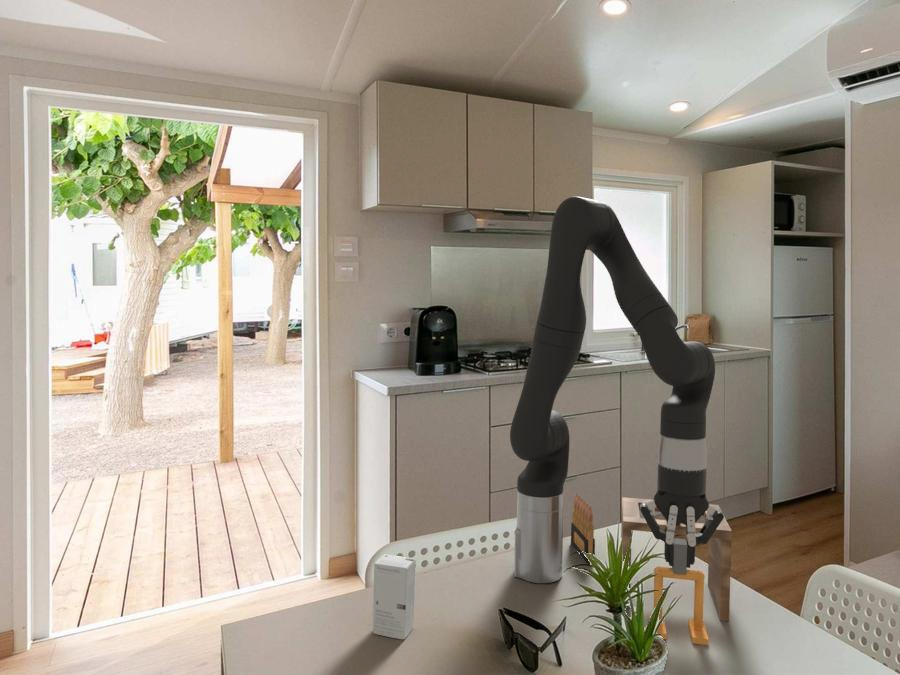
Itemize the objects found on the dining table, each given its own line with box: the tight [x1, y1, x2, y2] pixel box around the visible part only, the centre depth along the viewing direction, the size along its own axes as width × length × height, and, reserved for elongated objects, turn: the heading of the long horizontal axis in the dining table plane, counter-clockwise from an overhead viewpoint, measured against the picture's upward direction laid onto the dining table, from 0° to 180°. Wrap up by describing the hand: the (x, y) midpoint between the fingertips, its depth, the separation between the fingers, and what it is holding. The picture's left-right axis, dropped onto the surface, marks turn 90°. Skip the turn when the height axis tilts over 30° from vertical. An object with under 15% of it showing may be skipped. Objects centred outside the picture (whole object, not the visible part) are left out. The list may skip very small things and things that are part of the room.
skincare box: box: [372, 553, 417, 640], centre depth 103 cm, size 6×4×12 cm
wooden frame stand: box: [620, 496, 733, 622], centre depth 115 cm, size 18×14×18 cm
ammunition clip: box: [570, 493, 596, 564], centre depth 135 cm, size 11×2×12 cm, turn 7°
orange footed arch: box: [648, 537, 709, 646], centre depth 103 cm, size 9×6×16 cm
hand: (679, 564), depth 103 cm, fingers closed on orange footed arch
